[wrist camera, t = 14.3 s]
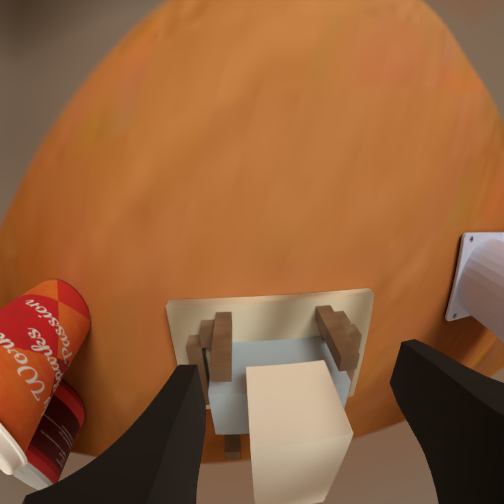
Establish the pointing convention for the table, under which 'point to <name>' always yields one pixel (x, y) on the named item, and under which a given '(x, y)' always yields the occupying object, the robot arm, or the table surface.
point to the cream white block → (295, 432)
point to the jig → (268, 331)
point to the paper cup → (35, 360)
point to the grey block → (264, 354)
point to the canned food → (53, 439)
